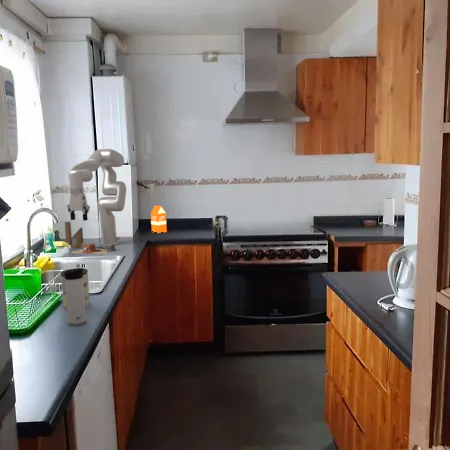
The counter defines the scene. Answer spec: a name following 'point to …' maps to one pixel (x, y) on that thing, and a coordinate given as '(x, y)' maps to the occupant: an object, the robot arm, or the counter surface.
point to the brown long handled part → (77, 236)
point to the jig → (99, 249)
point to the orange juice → (158, 219)
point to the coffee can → (86, 288)
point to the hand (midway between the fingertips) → (79, 220)
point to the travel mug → (75, 297)
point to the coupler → (89, 248)
